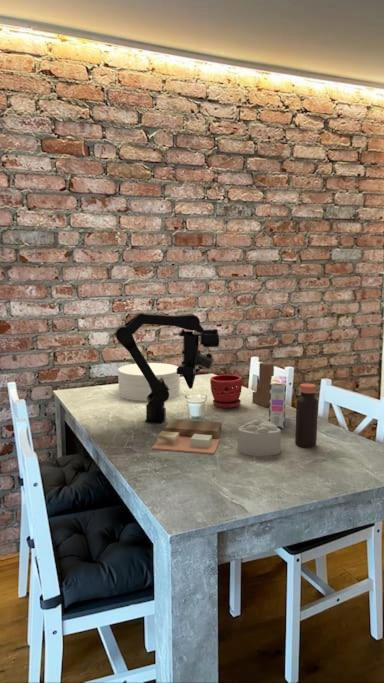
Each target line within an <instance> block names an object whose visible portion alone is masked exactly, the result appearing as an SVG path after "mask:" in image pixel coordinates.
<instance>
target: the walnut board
mask: <svg viewBox="0 0 384 683" xmlns="http://www.w3.org/2000/svg"><path fill="white" fill-rule="evenodd" d="M222 424H223V423H222V422H221V421H208V420H207V421H205V420H193V419H191V420H189V419H177V418H172V419H171V420H170V421H169V423H168V424H167V425H166V426H165V430H164V431H167V432H178V433H179V436H184V437H192V436H193V435H194V434H203V435H212V439H219V436H220V435H221V432H222V426H223V425H222Z"/></svg>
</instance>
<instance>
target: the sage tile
mask: <svg viewBox="0 0 384 683" xmlns="http://www.w3.org/2000/svg"><path fill="white" fill-rule="evenodd" d="M211 443H212V435H203V434H194V435H193V436H192V437H191V446H194V447H204V448H209V447H210V445H211Z"/></svg>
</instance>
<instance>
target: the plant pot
mask: <svg viewBox="0 0 384 683" xmlns="http://www.w3.org/2000/svg"><path fill="white" fill-rule="evenodd" d="M242 380H243V379H242V377H241V376H239V375H236V374H220V375H219V374H218V375H214V376H212V377H210V379H209V381H210V383H209V384H210V392H211V395H212V397H213V400H212V403H213V405H214V406H216V407H219V408H222V409H223V408H224V409H225V408H227V409H229V408H235V407H238V406H239V405H240V404H241V403H242V402H241V401H242V400H241V399H239V398H240V397H241V394H242V386H243V383H242V382H243V381H242Z"/></svg>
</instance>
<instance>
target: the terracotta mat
mask: <svg viewBox="0 0 384 683" xmlns="http://www.w3.org/2000/svg"><path fill="white" fill-rule="evenodd" d="M220 442H221V439H219V438H218V439H212V443H211V445H210V447H209V448H204V447H194V446H191V437H184V436H179V441H178V442H177V443H176V445H170V444H160V443H157V441H156V442H155V443H154V444H153V445H152V447H151V450H157V451H172V452H182V453H195V454H209V455H215V453H216V452H217V449H218V447H219V444H220Z"/></svg>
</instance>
